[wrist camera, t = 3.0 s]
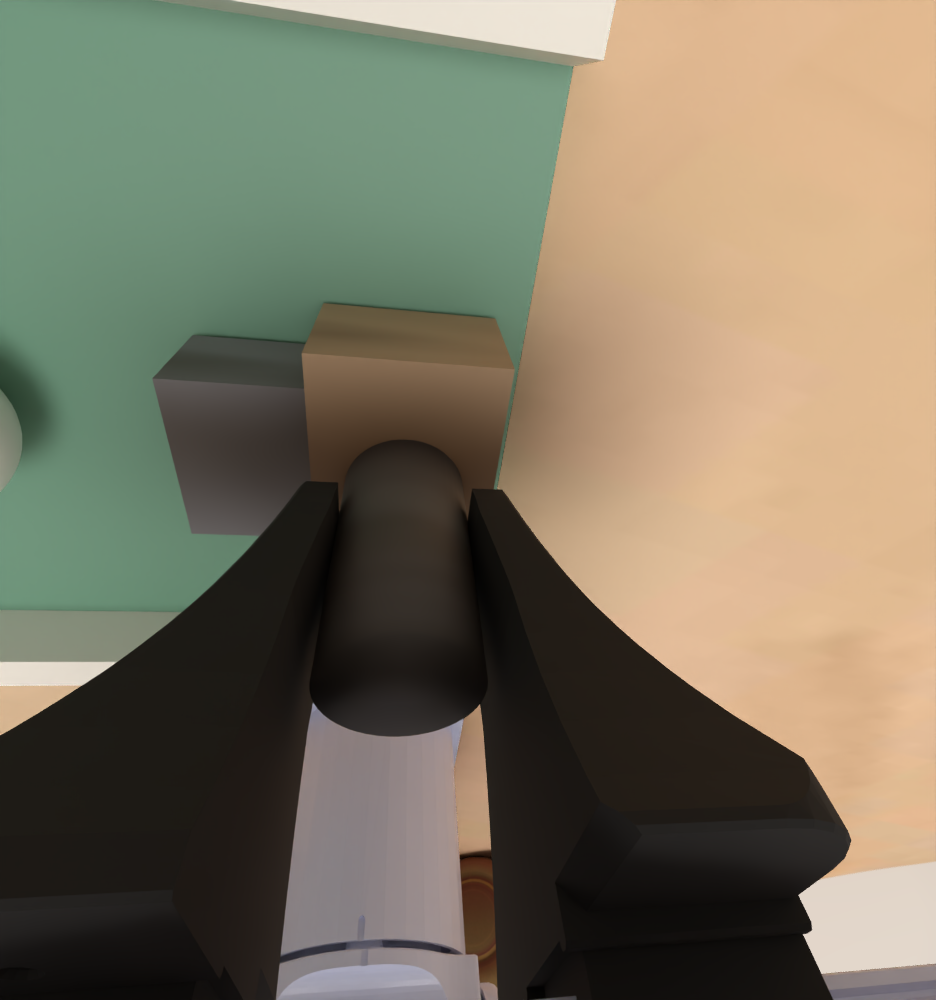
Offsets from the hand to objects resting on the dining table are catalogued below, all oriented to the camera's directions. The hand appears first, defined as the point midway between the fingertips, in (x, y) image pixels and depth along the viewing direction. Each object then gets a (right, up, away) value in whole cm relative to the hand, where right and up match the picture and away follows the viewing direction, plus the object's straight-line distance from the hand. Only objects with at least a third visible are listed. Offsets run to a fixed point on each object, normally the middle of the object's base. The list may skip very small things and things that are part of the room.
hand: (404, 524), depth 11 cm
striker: (-2, +3, +3) cm, 4 cm away
